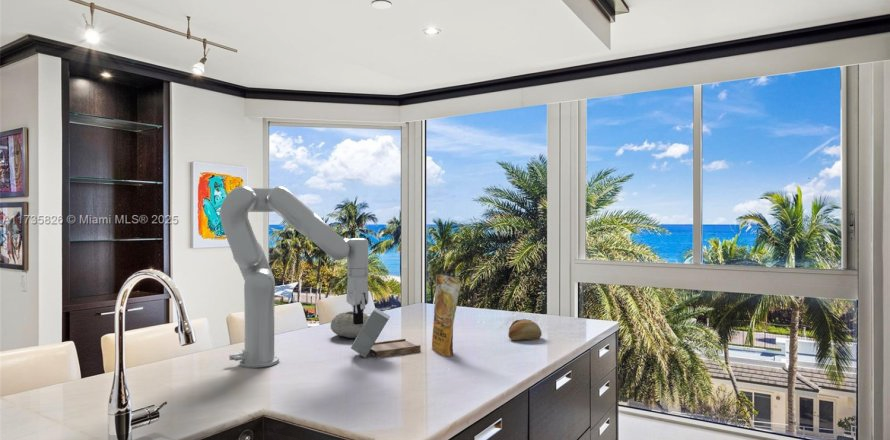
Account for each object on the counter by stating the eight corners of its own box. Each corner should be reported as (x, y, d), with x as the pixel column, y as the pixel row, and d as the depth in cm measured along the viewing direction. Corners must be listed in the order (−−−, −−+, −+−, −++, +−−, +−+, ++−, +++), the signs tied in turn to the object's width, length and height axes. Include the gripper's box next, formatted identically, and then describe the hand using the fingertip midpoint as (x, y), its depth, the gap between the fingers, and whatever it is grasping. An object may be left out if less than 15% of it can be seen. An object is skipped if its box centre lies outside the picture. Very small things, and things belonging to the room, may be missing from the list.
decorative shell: (382, 335, 220) (382, 311, 221) (353, 343, 205) (354, 318, 205) (350, 330, 230) (350, 307, 230) (321, 338, 215) (321, 313, 215)
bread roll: (502, 338, 215) (502, 319, 215) (532, 335, 222) (532, 316, 222) (515, 343, 206) (515, 323, 206) (546, 340, 213) (546, 320, 213)
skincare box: (365, 358, 183) (390, 321, 183) (348, 347, 182) (373, 309, 183) (367, 352, 191) (392, 316, 191) (351, 341, 191) (376, 305, 191)
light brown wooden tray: (378, 357, 184) (378, 351, 184) (363, 349, 195) (364, 343, 195) (420, 351, 193) (420, 345, 193) (404, 344, 204) (404, 338, 204)
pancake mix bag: (443, 345, 203) (443, 273, 203) (462, 356, 185) (463, 278, 186) (426, 346, 201) (427, 273, 201) (445, 358, 183) (445, 278, 183)
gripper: (340, 271, 192) (340, 321, 192) (355, 275, 179) (356, 328, 179) (359, 270, 196) (360, 319, 195) (376, 273, 183) (376, 326, 183)
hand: (358, 323), depth 187 cm, fingers closed
